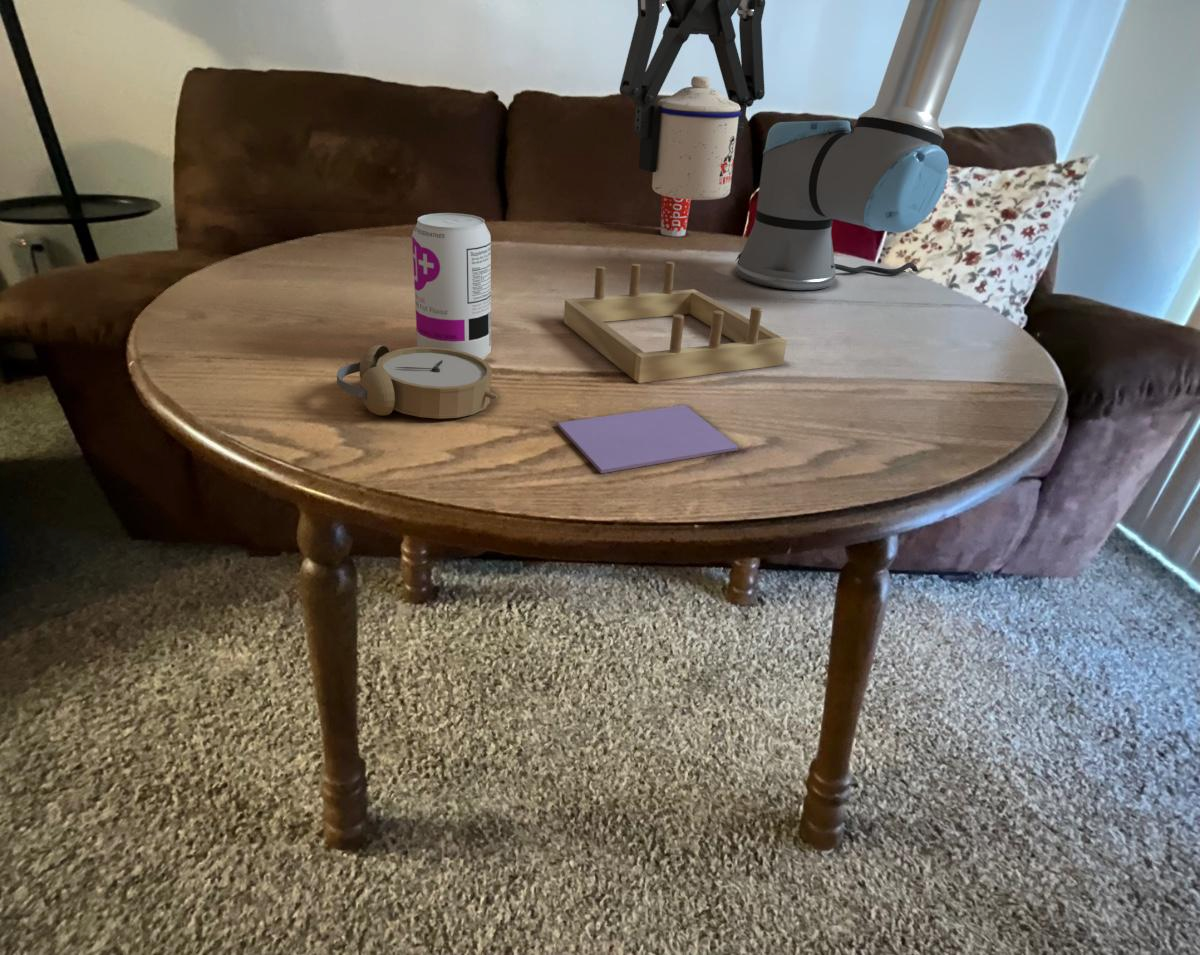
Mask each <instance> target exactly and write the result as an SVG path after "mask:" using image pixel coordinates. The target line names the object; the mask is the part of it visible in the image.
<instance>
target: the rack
mask: <svg viewBox="0 0 1200 955" xmlns="http://www.w3.org/2000/svg"><path fill="white" fill-rule="evenodd" d="M641 267H642V265H641V264H639V263H632V264H631V266H630V279H629V294H618V295H606V296H605V280H606V267H605V266H602V265H597V266H595V276H594V294H593V295H594V296H593V297H579V298H568V299H564V307H563V308H564V309H563V310H564V311H563V323H564V324H565V325H566V326H567V327H568V328H569V329H571V330H572V331H573V332H574V333H575V334H577V335H578V336H579V337H581V338H582V339H583V340H584V341H586V342H587V343H588V344H589V345H591V346H592V347H593V348H594V349H595V350H597V351H598V352H599V353H600V354H602V355H603V356H604V357H605V358H606V359H608V360H609V361H610V362H611V363H613V365H615V366H616V367H617V368H618V369H620V370H621V371H622V372H623V373H625V374H626V375H627V376H629V378H631V379H632V380H633V381H635V382H637V383H638V384H644V383H650V382H652V383H653V382H659V381H667V380H674V379H683V378H690V377H692V378H693V377H699V376H707V375H708V376H709V375H715V374H716V375H717V374H722V373H731V372H738V371H739V372H741V371H747V370H754V369H755V370H756V369H762V368H763V369H764V368H771V367H778V366H784V361H785V354H786V348H787V343H788V340H786V339H784V338H783V337H782V336H780V335H778V334H777V333H775V332H773V331H771V330H769V329H768V328H766V327H764V326H762V325H761V318H762V312H763V309H762V308H761V307H758V306H753V307H751V308H750V314H749V318H748V317H746V316H744V315H742V314H741V313H739V312H737V311H735V310H733V309H732V308H730V307H729V306H726V305H724V304H723V303H720V302H719V301H717V300H715V299H714V298H712V297H710V296H708V295H706V294H705V293H703V292H701V291H699V290H696V289H693V288H692V289H683V290H682V289H681V290H673V287H674V277H675V267H676V263H675V262H674V261H666V262H665V266H664V276H663V287H662V291H657V292H643V293H640V292H639V291H640V283H641V282H640V280H641V269H642V268H641ZM684 315H690V316H692V317H693V318H695V319H697V320H699V321H701V322H702V323H703V324H705V325H707V326H709V327H710V331H709V332H710V333H709V340H708V345H702V346H701V345H700V346H691V347H683V348H682V343H683V342H682V341H683V331H684V323H685V322H684V321H685V316H684ZM671 316H672V322H671V333H670V341H669V349H664V350H656V351H655V350H654V351H648V352H647V351H646V352H644V351H643V350H642V349H641V348H639V347H637V345H635V344H634V343H632V342H631V341H630V340H628V339H627V338H626V337H624V336H623V335H622V334H621V333H619V332H617V330H615V329H614V328H612V327H611V326H610V325H609V324H607V323H608V322H618V321H629V320H638V319H639V320H641V319H649V318H660V317H671ZM605 322H607V323H605ZM722 336H725V337H726V338H728V339H730V340H732V341H733V342H728V343H721V338H722Z"/></svg>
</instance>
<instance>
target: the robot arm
mask: <svg viewBox="0 0 1200 955" xmlns="http://www.w3.org/2000/svg"><path fill="white" fill-rule="evenodd" d="M981 2H982V0H909V2H908V5H907V8H906V11H905V14H904V16H903V20H902V22H901V24H900V25H901V26H900V29H899V31H898V34H897V37H896V40H895V43H894V46H893V49H892V52H891V55H890V58H889V61H888V64H887V67H886V69H885V72H884V76H883V78H882V82H881V84H880V86H879V91H878V93H877V96H876V99H875V101H874V105H873V106H872V107H870V108H869V109H867V110H865V111H864V112H862V113H861V114H860V115H858V117H857V121H856V124H855V127H854V128H853V129H854V130H853V132H852V129H851V122H850V121H849V120H812V121H811V120H809V121H780V122H776V123H775V124H773V125H772V126H771V127H770V128H769V129H768V132H767V137H766V141H765V146H764V150H763V152H762V164H761V171H760V180H759V186H758V187H759V188H758V196H757V203H756V211H755V216H754V217H755V218H754V223H753V227H752V229H751V231H750V233H749V234H748V237H747V239H746V242H745V244H744V246H743V248H742V250H741V252H740V253H739V254H738V255H737V257H736V259H735V261H736V269H735V272H736V275H737V276H739V277H740V278H741V279H743V280H745V281H747V282H749V283H752V284H755V285H760V286H764V287H769V288H773V289H782V290H788V291H789V290H791V291H813V290H814V291H815V290H822V289H826V288H830V287H831V286H832V285H833V284H834V283H835V278H836V270H838V271H842V272H844V273H845V272H846V273H850V274H859V273H861V272H873V273H878V274H881V275H882V274H883V275H898V274H901V273H903V272H904V271H906V270H908V269H911V271H912V272H914V273H919V268H918V267H917V265H916V264H915V263H914V262H906V263H904V264H903V265H902V266H900V267H897V268H884V267H880V266H874V265H859V266H857V267H851V266H847V265H843V264H838V263H835V256H834V246H833V238H832V228H833V221H834V220H836V221H839V222H844V223H849V224H853V225H857V226H861V227H864V228H866V229H870V230H872V231H875V232H881V231H884V232H888V233H889V232H890V233H894V234H900V233H905V232H909V231H911V230H913V229H914V228H916V227H917V226H918V225H919V224H920V223H922V222H924V221H925V219H926V218H927V217H928V216H929V215H930V214H931V213H932V211H934V209H935V208H936V205H937V204H938V202H939V201H940V198H941V197H942V195H943V192H944V190H945V187H946V184H947V181H948V177H949V173H948V169H949V168H950V163H949V157H948V154H947V153H946V151H945V150H944V149H943V148H942V144H943V141H944V138H945V136H944V133H943V131H942V129H941V127H940V124H939V118H940V116H941V113H942V110H943V107H944V104H945V101H946V99H947V97H948V93H949V90H950V88H951V85H952V83H953V80H954V76H955V74H956V71H957V69H958V66H959V63H960V60H961V57H962V55H963V52H964V49H965V47H966V44H967V40H968V38H969V36H970V32H971V30H972V26H973V24H974V22H975V19H976V16H977V13H978V10H979V7H980V5H981ZM664 5H666V7H667V10H668V11H669V14H670V16H669V18H668V20H667V21H666V24H665V26H664V28H663V30H662V37H661V39H660V41H659V43H658V46H657V47H656V49H655V52H654V53H653V55H652V58H651V60H650V57H651V54H652V50H653V49H652V48H653V45H654V42H655V37H656V34H657V29H658V25H659V21H660V14H661V13H662V12H663V10H664V8H665V6H664ZM765 7H766V0H637V17H636V21H635V25H634V30H633V33H632V38H631V41H630V44H629V49H628V53H627V57H626V60H625V65H624V69H623V73H622V77H621V80H620V85H619V93H620V95H621V96H624V97H626V98H628V99H631V100H632V102H634V103H635V115H634V130H633V131H634V134H635V137H638V138H640V142H639V153H638V154H639V157H638V168H639V169H640V170H643V171H645V172H648V173H653V172H656V167H657V154H658V141H659V129H660V116H661V106H658V105H657V104H654V103H655V102H656V99H657V97H658V96H659V94H660V91H661V89H662V88H663V85H664V83H665V81H666V79H667V77H668V76H669V73H670V71H671V69H672V67H673V65H674V63H675V61H676V59H677V57H678V54H679V53H680V51H681V48H682V46H683V45H684V43H685V42H687V41H688V40H689V38H690V35H705V36H708V40H709V41H710V42H711V44H712V45H713V49H714V53H715V56H716V60H717V63H718V66H719V70H720V74H721V78H722V81H723V85H724V88H725V92H726V95H727V99H729V100H730V101H733V102H735V103H737V104H739V106H740V108H741V109H740V111H741V115H740V116H739V118H738V127H737V135H736V144H735V153H734V161H733V170H734V167H735V160H736V153H737V152H736V151H737V142H738V138H742V136H743V134H744V132H745V130H744V129H745V122H746V115H747V108H750V107H752V106H753V105H754V102H755V101H761V100H763V98H764V97H765V94H766V93H765V91H766V90H765V72H764V52H763V51H764V49H763V48H764V47H763V31H762V21H763V17H764V16H763V15H764V11H765ZM735 13H736V14H737V16H739V17H738V18H739V21H738V22H739V23H738V30H739V49H740V55H739V52H738V47H737V44H736V37H737V34H736V31H735V28H734V23H733V20H732V17H733V16H734V14H735ZM649 60H650V62H649ZM648 63H649V64H648ZM851 132H852V133H851Z"/></svg>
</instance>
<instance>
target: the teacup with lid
mask: <svg viewBox="0 0 1200 955" xmlns="http://www.w3.org/2000/svg"><path fill="white" fill-rule="evenodd" d="M690 80H691V81H690V82H691V84H690V85H691V86H686V87H683V88H681V89H680V90H678V91H677V92H675V93H674V94H672V95H670V96H667V97H663V98H661V99H659V100H658V101H657V103H656V105H658V106H661V116H660V129H659V141H658V154H657V167H656V172H652V180H651V182H652V183H651V188H652V190H653V192H655V193H656V194H658V195H661V196H662V195H664V196H668V197H673V198H680V199H690V200H691V201H710V200H711V201H712V200H719V199H723V198H726V197H728V196H729V195H730V194H731V186H732V178H733V171H734V169H733V161H734V153H735V154H736V152H735V144H736V135H737V127H738V118H739V116H740V115H741V111H740V109H741V108H740V106H739V104H737V103H735V102H733V101H730V100H729V99H728V97H726V96H725V95H724V94H722V92H721V91H719V90H718V89H715V88H712V87H710V86H711V78H710V77H709V76H703V75H702V76H701V75H700V76H699V75H696V76H693V77H692V78H691V79H690ZM736 145H737V144H736ZM734 162H735V161H734Z"/></svg>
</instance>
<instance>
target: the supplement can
mask: <svg viewBox="0 0 1200 955" xmlns="http://www.w3.org/2000/svg"><path fill="white" fill-rule="evenodd" d="M485 222H486V220H485V219H484V218H482V217H481V216H477V215H474V214H467V213H457V212H439V213H429V214H424V215H421V216H418V217H417V223H416V224H415V226H414V229H413V231H412V234H411V241H412V244H411V245H412V262H413V264H412V265H413V282H414V283H413V284H414V303H415V305H414V307H415V325H416V347H436V348H447V349H452V350H457V351H462V352H466V353H469V354H471V355H474V356H477V357H479V358H481V359H482V360H484V361H485V359H486V358H487V357H488V355H489V354H490V353H492V269H491V268H492V262H491V261H492V256H491V255H492V254H491V252H492V250H491V248H492V244H491V242H492V241H491V240H492V239H491V238H492V237H491V233H490V231H489V229H488V227H487V225H486V223H485Z"/></svg>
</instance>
